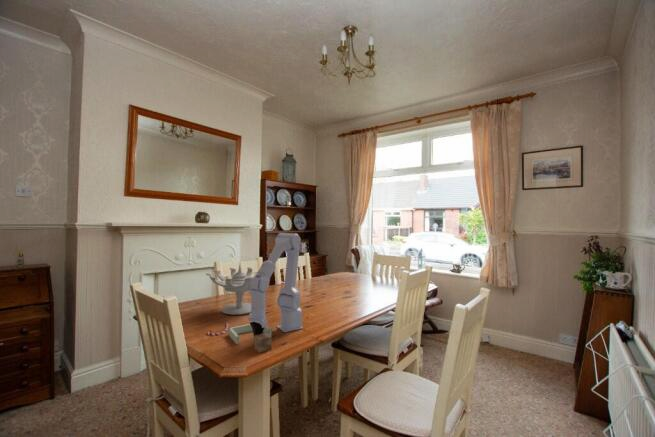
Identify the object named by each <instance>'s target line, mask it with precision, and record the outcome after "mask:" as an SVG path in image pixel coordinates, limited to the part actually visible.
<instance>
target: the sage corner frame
mask: <svg viewBox="0 0 655 437" xmlns="http://www.w3.org/2000/svg"><path fill="white" fill-rule="evenodd" d="M250 332H253V330H252V327H251V325H250V323H249V324H248V323H247V324H243V325H237V326H232V327H228V336H229V337H230V339H231V340H232V341H233V342H234V344H235V345H239V344H240V334H244V333H250ZM263 333H268V334H269V335H270V336H271V337H272V335H273V334H272V329H271V328H270V327H269V326H268V325H267V327H265V328H264V330H263Z"/></svg>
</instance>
